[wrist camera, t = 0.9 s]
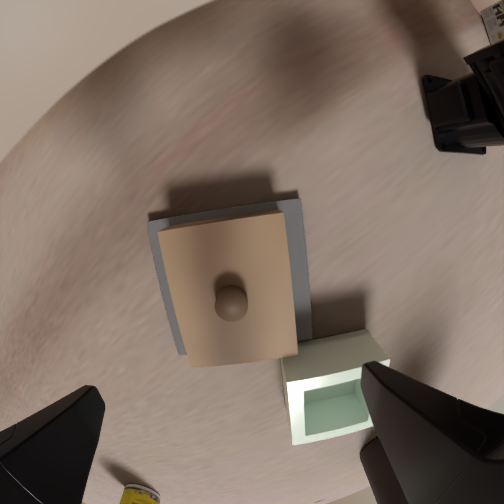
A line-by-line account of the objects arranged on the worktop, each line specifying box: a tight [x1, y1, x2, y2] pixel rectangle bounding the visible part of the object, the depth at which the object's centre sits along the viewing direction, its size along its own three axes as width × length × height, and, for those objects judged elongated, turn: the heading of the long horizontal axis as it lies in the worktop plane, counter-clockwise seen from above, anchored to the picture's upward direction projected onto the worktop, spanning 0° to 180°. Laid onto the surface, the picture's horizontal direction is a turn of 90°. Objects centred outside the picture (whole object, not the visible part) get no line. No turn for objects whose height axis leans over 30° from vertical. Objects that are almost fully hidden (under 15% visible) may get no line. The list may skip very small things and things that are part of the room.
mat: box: [146, 198, 313, 355], centre depth 19 cm, size 10×10×1 cm
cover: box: [158, 209, 298, 368], centre depth 17 cm, size 7×9×4 cm
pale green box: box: [280, 329, 390, 445], centre depth 19 cm, size 7×7×4 cm
